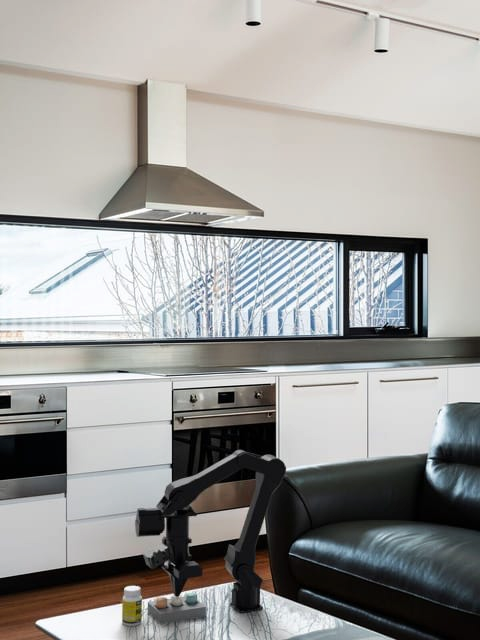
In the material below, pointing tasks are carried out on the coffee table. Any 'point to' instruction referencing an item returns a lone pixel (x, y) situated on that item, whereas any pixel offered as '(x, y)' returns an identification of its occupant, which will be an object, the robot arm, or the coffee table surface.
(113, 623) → the coffee table surface
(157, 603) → the peach orange egg
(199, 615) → the panel
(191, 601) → the light blue egg
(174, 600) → the cream white egg
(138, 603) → the supplement bottle
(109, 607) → the coffee table surface
